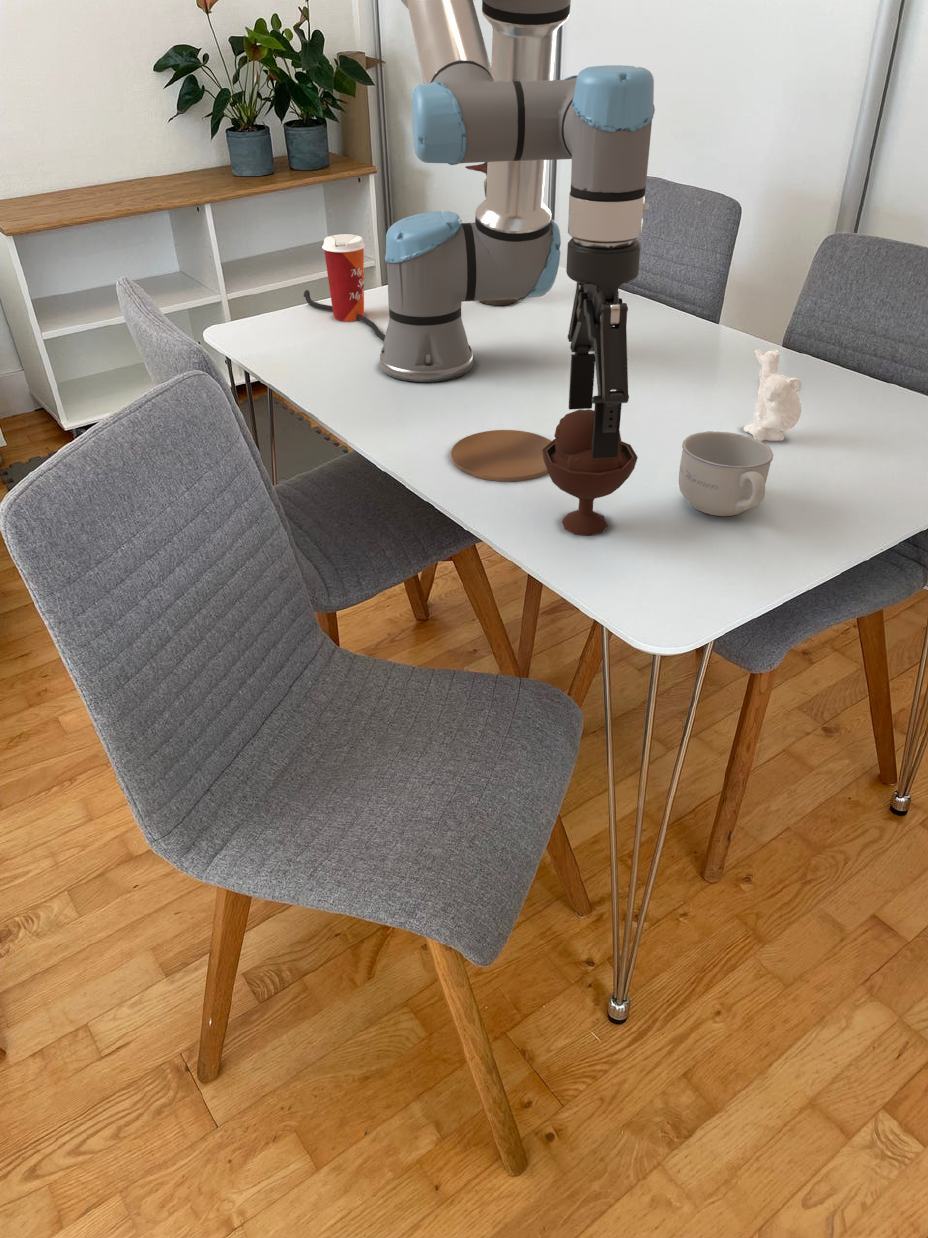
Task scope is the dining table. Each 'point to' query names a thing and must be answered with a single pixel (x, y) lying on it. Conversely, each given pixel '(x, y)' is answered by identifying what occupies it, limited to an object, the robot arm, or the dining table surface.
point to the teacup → (723, 472)
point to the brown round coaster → (501, 455)
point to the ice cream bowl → (585, 470)
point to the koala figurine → (774, 400)
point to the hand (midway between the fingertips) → (591, 431)
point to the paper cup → (345, 275)
